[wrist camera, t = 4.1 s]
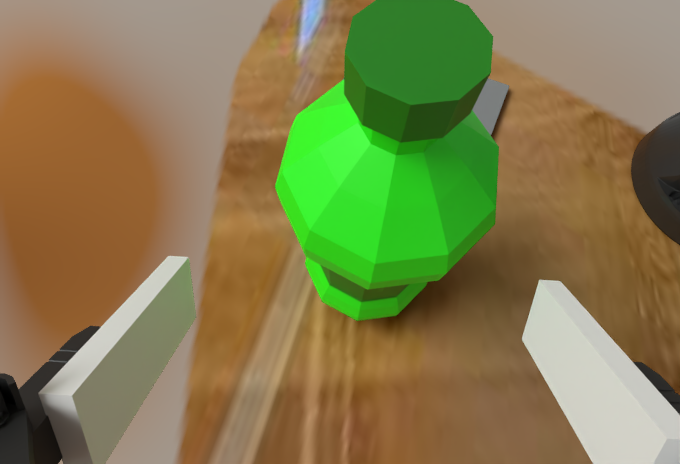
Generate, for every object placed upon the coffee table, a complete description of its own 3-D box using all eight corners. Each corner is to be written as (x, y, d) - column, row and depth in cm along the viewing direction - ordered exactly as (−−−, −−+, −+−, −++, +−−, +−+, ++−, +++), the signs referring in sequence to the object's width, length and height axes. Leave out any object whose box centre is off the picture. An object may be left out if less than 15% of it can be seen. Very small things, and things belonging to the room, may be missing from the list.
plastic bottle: (296, 319, 33) (193, 176, 10) (320, 206, 37) (289, -96, 13) (414, 341, 33) (609, 247, 9) (427, 224, 36) (592, -58, 13)
